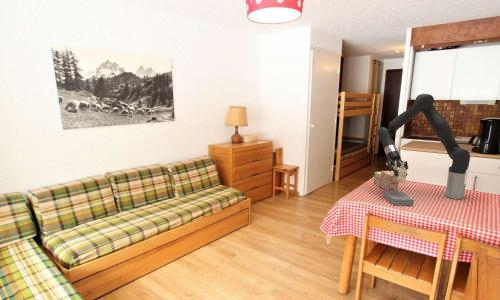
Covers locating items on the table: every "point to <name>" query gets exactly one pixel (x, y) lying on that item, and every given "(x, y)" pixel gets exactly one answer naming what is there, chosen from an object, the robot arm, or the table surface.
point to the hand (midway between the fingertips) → (401, 175)
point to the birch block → (400, 176)
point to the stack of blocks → (385, 180)
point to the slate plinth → (398, 198)
